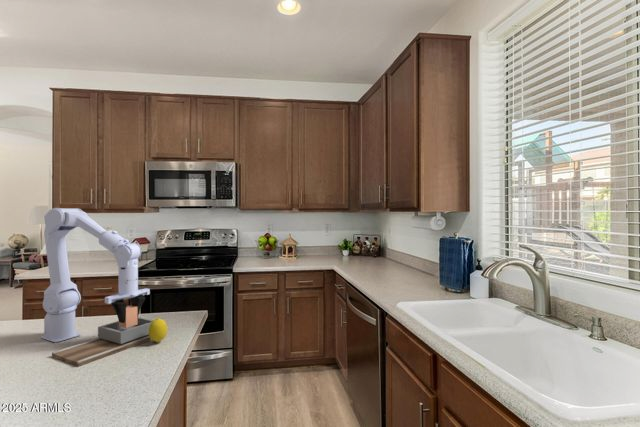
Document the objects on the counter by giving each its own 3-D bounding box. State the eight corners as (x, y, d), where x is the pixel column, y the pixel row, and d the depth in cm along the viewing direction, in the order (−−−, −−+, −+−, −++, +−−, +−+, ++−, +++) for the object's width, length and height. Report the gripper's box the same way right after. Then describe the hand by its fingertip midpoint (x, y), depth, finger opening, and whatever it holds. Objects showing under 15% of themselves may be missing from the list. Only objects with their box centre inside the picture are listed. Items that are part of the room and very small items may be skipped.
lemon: (160, 346, 110) (159, 321, 110) (144, 345, 111) (144, 320, 111) (170, 340, 116) (170, 316, 116) (156, 338, 117) (156, 315, 117)
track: (51, 356, 102) (51, 343, 102) (137, 329, 126) (137, 318, 126) (78, 366, 96) (78, 352, 96) (163, 335, 120) (163, 324, 120)
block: (118, 326, 115) (118, 308, 115) (130, 322, 119) (129, 305, 119) (126, 327, 114) (126, 309, 114) (137, 324, 117) (137, 306, 117)
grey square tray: (98, 339, 113) (98, 326, 113) (135, 328, 125) (135, 316, 125) (120, 346, 108) (120, 332, 108) (157, 333, 119) (157, 321, 119)
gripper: (114, 284, 108) (114, 328, 108) (155, 277, 121) (155, 316, 121) (100, 282, 111) (100, 325, 111) (142, 275, 124) (142, 313, 124)
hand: (128, 320), depth 116 cm, fingers closed on block, 4 cm apart
